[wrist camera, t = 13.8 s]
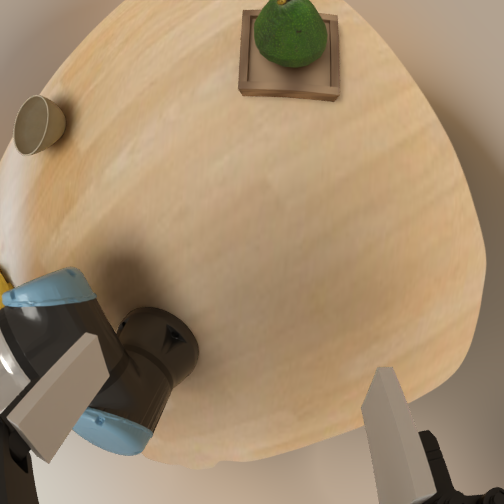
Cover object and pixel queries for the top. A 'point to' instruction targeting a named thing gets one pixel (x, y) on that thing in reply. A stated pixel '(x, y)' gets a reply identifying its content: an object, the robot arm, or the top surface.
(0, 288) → the teapot
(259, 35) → the avocado
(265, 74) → the base
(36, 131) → the grey bowl
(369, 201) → the top surface
